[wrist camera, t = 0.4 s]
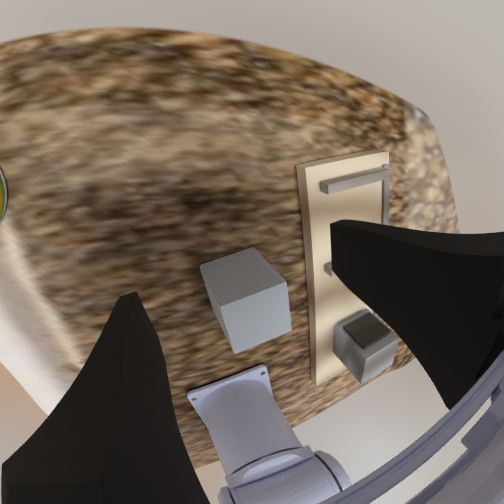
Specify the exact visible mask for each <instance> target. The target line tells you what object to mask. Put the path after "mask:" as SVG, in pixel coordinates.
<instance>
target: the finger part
mask: <svg viewBox="0 0 504 504" xmlns="http://www.w3.org/2000/svg"><path fill="white" fill-rule="evenodd" d="M199 267H200V270H201V273H202V277H203V280H204V283H205V286H206V290H207V293H208V296H209V299H210V302H211V306H212V309H213V311H214V313H215V315H216V317H217V320H218V322H219V324H220V326H221V328H222V330H223V332H224V334H225V336H226V338H227V340H228V342H229V344H230V346H231V348H232V350H233V352H234V354H237V353H239V352H242V351H244V350H247V349H249V348H252V347H254V346H257V345H259V344H262V343H264V342H266V341H269V340H271V339H274V338H276V337H278V336H280V335H283V334H285V333H287V332H290V331H292V328H291V318H290V309H289V300H288V291H287V282H286V281H285V279H284V278H283V277H282V276H281V275H280V274H279V273H278V272H277V271H276V270H275V269H274V268H273V267H272V266H271V265H270V264H269V263H268V262H267V261H266V260H265V258H264V257H263V256H262V255H261V254H260V253H259V252H258V251H257V250H256V249H255V248H254V247H251V248H248V249H245V250H242V251H239V252H237V253H234V254H231V255H228V256H225V257H222V258H219V259H216V260H213V261H210V262H207V263H204V264H201V265H199Z"/></svg>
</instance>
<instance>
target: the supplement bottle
mask: <svg viewBox="0 0 504 504" xmlns="http://www.w3.org/2000/svg"><path fill="white" fill-rule="evenodd" d="M6 204H7V188H6V183H5V179H4V176H3V174H2V171H1V169H0V223H1V221H2V218H3V216H4V213H5V209H6Z"/></svg>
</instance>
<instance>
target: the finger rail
mask: <svg viewBox="0 0 504 504" xmlns="http://www.w3.org/2000/svg"><path fill="white" fill-rule="evenodd" d="M296 170H297V178H298V187H299V197H300V206H301V216H302V227H303V238H304V250H305V263H306V276H307V292H308V309H309V329H310V355H311V380H312V381H313V383H314V384H315V385H316V386H318V385H320V384H322V383H324V382H326V381H328V380H329V379H331V378H333V377H335V376H337V375H339V374H340V373H342V372H344V371H346V370H349V371H350V372H351V373H352V374H353V376H354V377H355V378H356V379H357V380H358V381H359V382H360V384H362V383H363V382H365V381H367V380H368V379H370V378H371V377H373V376H375V375H376V374H378V373H379V372H381V371H382V370H384V369H385V368H387V367H388V366H390V365H391V364H392V362H393V359H394V355H395V352H396V348H397V345H398V341H399V336H398V335H396V334H395V333H394V332H393V331H392V330H391V329H390V328H388V327H387V326H386V325H385V324H384V323H383V322H382V321H380V320H379V319H378V315H377V314H376V313H375V312H374V311H373V310H372V309H370V308H369V307H368V306H367V305H366V304H365V303H364V302H362V301H361V300H360V299H359V298H358V297H357V296H356V295H354V294H353V293H352V292H351V291H350V290H349V289H348V288H347V287H346V286H345V285H344V284H343V283H342V282H341V280H340V279H339V278H338V277H337V276H336V274H335V273H334V272H333V271H332V264H331V238H330V223H333V222H336V221H339V220H342V219H350V220H359V221H366V222H372V223H378V224H384V225H388V217H389V178H390V169H389V151H385V150H381V149H374V150H369V151H363V152H357V153H352V154H347V155H341V156H336V157H331V158H326V159H321V160H317V161H312V162H307V163H303V164H298V165H296Z"/></svg>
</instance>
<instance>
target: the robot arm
mask: <svg viewBox="0 0 504 504" xmlns="http://www.w3.org/2000/svg"><path fill="white" fill-rule="evenodd" d="M330 238H331V264H332V271H333V272H334V273H335V274H336V276H337V277H338V278H339V279H340V280H341V282H342V283H343V284H344V285H345V286H346V287H347V288H348V289H349V290H350V291H351V292H352V293H353V294H354V295H356V296H357V297H358V298H359V299H360V300H361V301H362V302H364V303H365V304H366V305H367V306H368V307H369V308H370V309H372V310H373V311H374V312H375V313H376V314H377V315H378V316H380V317H381V318H382V319H383V320H384V321H385V322H386V323H387V324H388V325H389V326H390V327H391V328H392V329H393V330H394V331H395V332H396V333H397V335H398V336H399V337H400V338H401V339H402V340H403V342H404V343H405V344H406V345H407V346H408V348H409V349H410V350H411V352H412V353H413V354H414V355H415V357H416V358H417V359H418V361H419V362H420V364H421V365H422V366H423V368H424V369H425V371H426V372H427V374H428V375H429V377H430V378H431V380H432V382H433V383H434V385H435V387H436V388H437V390H438V392H439V394H440V395H441V397H442V399H443V401H444V403H445V405H446V407H447V408H448V409H449V410H450V411H449V412H448V413H447V414H446V415H445V416H444V417H442V418H441V419H440V420H439V421H438V422H437V423H436V424H435V425H434V426H433V427H431V428H430V429H429V430H428V431H427V432H426V433H425V434H423V435H422V436H421V437H420V438H419V439H417V440H416V441H415V442H414V443H412V444H411V445H410V446H409V447H408V448H406V449H405V450H403V451H402V452H401V453H400V454H398V455H397V456H396V457H394V458H393V459H391V460H390V461H389V462H387V463H386V464H384V465H383V466H381V467H380V468H378V469H377V470H376V471H374V472H372V473H371V474H369V475H368V476H366V477H365V478H363V479H362V480H360V481H358V482H356V483H355V484H353V485H352V484H351V481H350V479H349V477H348V475H347V473H346V472H345V470H344V469H343V467H342V466H341V465H340V464H339V462H338V461H337V460H336V459H335V458H334V457H333V456H331V455H330V454H328V453H324V452H322V451H316V452H314V453H313V451H312V450H311V448H310V447H309V445H307V446H305V447H303V446H302V445H301V443H300V441H299V440H298V438H297V437H296V435H295V433H294V432H293V430H292V428H291V427H290V425H289V423H288V422H287V420H286V419H285V417H284V415H283V414H282V412H281V410H280V409H279V407H278V405H277V403H276V402H275V400H274V398H273V394H272V389H271V385H270V380H269V375H268V371H267V367H266V366H265V365H264V364H261V365H258V366H256V367H253V368H251V369H248V370H246V371H243V372H241V373H238V374H236V375H233V376H231V377H228V378H225V379H223V380H220V381H217V382H215V383H212V384H209V385H206V386H203V387H200V388H198V389H195V390H192V391H189V392H188V393H187V398H188V399H189V401H190V402H191V404H192V406H193V407H194V409H195V410H196V412H197V413H198V415H199V416H200V418H201V419H202V421H203V422H204V424H205V425H206V426H207V428H208V431H209V434H210V436H211V439H212V442H213V444H214V447H215V449H216V452H217V454H218V457H219V459H220V462H221V464H222V466H223V469H224V471H225V474H226V477H225V479H226V482H227V484H228V486H229V488H230V489H229V488H228V486H226V487H222V488H221V491H220V492H219V494H218V499H219V503H220V504H369V503H370V502H372V501H373V500H375V499H377V498H378V497H380V496H381V495H383V494H384V493H386V492H387V491H389V490H390V489H391V488H393V487H394V486H395V485H397V484H398V483H400V482H401V481H402V480H404V479H405V478H406V477H408V476H409V475H410V474H411V473H413V472H414V471H415V470H416V469H418V468H419V467H420V466H421V465H422V464H424V463H425V462H426V461H427V460H429V459H430V458H431V457H432V456H433V455H434V454H435V453H436V452H438V451H439V450H440V449H441V448H442V447H443V446H444V445H445V444H446V443H447V442H448V441H449V440H450V439H451V438H452V437H453V436H454V435H455V434H456V433H457V432H458V431H459V430H460V429H461V428H462V427H463V426H464V425H465V424H466V423H467V422H468V421H469V420H470V419H471V418H472V417H473V415H474V414H475V413H476V412H477V411H478V410H479V409H480V407H481V406H482V405H483V404H484V403H485V402H486V400H487V399H488V398H489V397H490V395H491V406H490V407H489V409H488V410H487V411H486V412H485V413H484V415H483V416H482V417H481V418H480V419H479V421H478V422H477V423H476V424H475V425H474V426H473V427H472V428H471V429H470V430H469V432H468V433H467V434H466V435H465V436H464V437H463V438H462V439H461V442H462V443H463V445H465V446H466V448H467V450H466V451H465V452H464V453H463V454H462V455H461V456H460V457H459V458H458V459H457V460H456V461H455V462H454V463H453V464H452V465H451V466H450V467H449V468H448V469H447V470H445V471H444V472H443V473H442V474H441V475H440V476H439V477H438V478H436V479H435V480H434V481H433V482H432V483H430V484H429V485H428V486H427V487H426V488H424V489H423V490H422V491H421V492H419V493H418V494H417V495H415V496H414V497H413V498H412V499H410V500H409V501H407V502H406V503H405V504H504V232H497V233H485V234H450V233H438V232H427V231H420V230H413V229H407V228H401V227H395V226H389V225H384V224H378V223H372V222H366V221H359V220H350V219H342V220H339V221H336V222H333V223H330ZM1 479H2V480H1V482H2V483H1V496H2V497H1V498H2V504H210V502H209V500H208V498H207V496H206V494H205V492H204V490H203V488H202V486H201V484H200V482H199V480H198V477H197V475H196V473H195V470H194V468H193V466H192V463H191V461H190V458H189V456H188V453H187V451H186V448H185V445H184V443H183V440H182V437H181V434H180V431H179V428H178V425H177V421H176V417H175V413H174V408H173V403H172V398H171V392H170V387H169V381H168V375H167V369H166V363H165V359H164V355H163V352H162V348H161V345H160V341H159V337H158V335H157V333H156V331H155V329H154V327H153V325H152V323H151V321H150V319H149V317H148V315H147V313H146V311H145V309H144V307H143V305H142V303H141V300H140V298H139V296H138V294H137V292H136V291H135V292H133V293H130V294H127V295H124V296H121V297H119V299H118V301H117V303H116V305H115V307H114V309H113V311H112V313H111V315H110V317H109V319H108V321H107V323H106V325H105V327H104V329H103V331H102V333H101V335H100V337H99V339H98V341H97V343H96V344H95V346H94V348H93V350H92V352H91V354H90V356H89V357H88V359H87V361H86V363H85V365H84V366H83V368H82V370H81V371H80V373H79V374H78V376H77V377H76V379H75V381H74V382H73V384H72V385H71V387H70V388H69V390H68V391H67V392H66V394H65V395H64V396H63V398H62V399H61V400H60V402H59V403H58V404H57V406H56V407H55V409H54V410H53V411H52V413H51V414H50V415H49V416H48V417H47V419H46V420H45V421H44V422H43V423H42V425H41V426H40V427H39V428H38V429H37V430H36V431H35V432H34V434H33V435H32V436H31V437H30V438H29V439H28V440H27V441H26V442H25V443H24V444H23V445H22V446H21V447H20V448H19V449H18V450H17V451H16V452H15V453H14V454H13V455H12V456H11V457H9V459H7V460H6V461H5V462H4V463H3V464H2V477H1Z"/></svg>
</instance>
